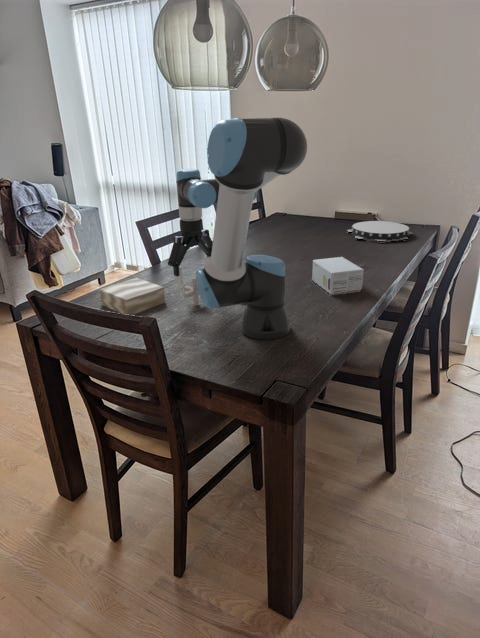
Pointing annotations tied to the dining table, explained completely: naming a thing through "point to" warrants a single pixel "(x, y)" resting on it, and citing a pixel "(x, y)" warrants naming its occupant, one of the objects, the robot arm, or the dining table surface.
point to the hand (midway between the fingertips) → (194, 279)
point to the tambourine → (380, 230)
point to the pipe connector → (192, 291)
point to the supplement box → (337, 275)
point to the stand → (132, 296)
